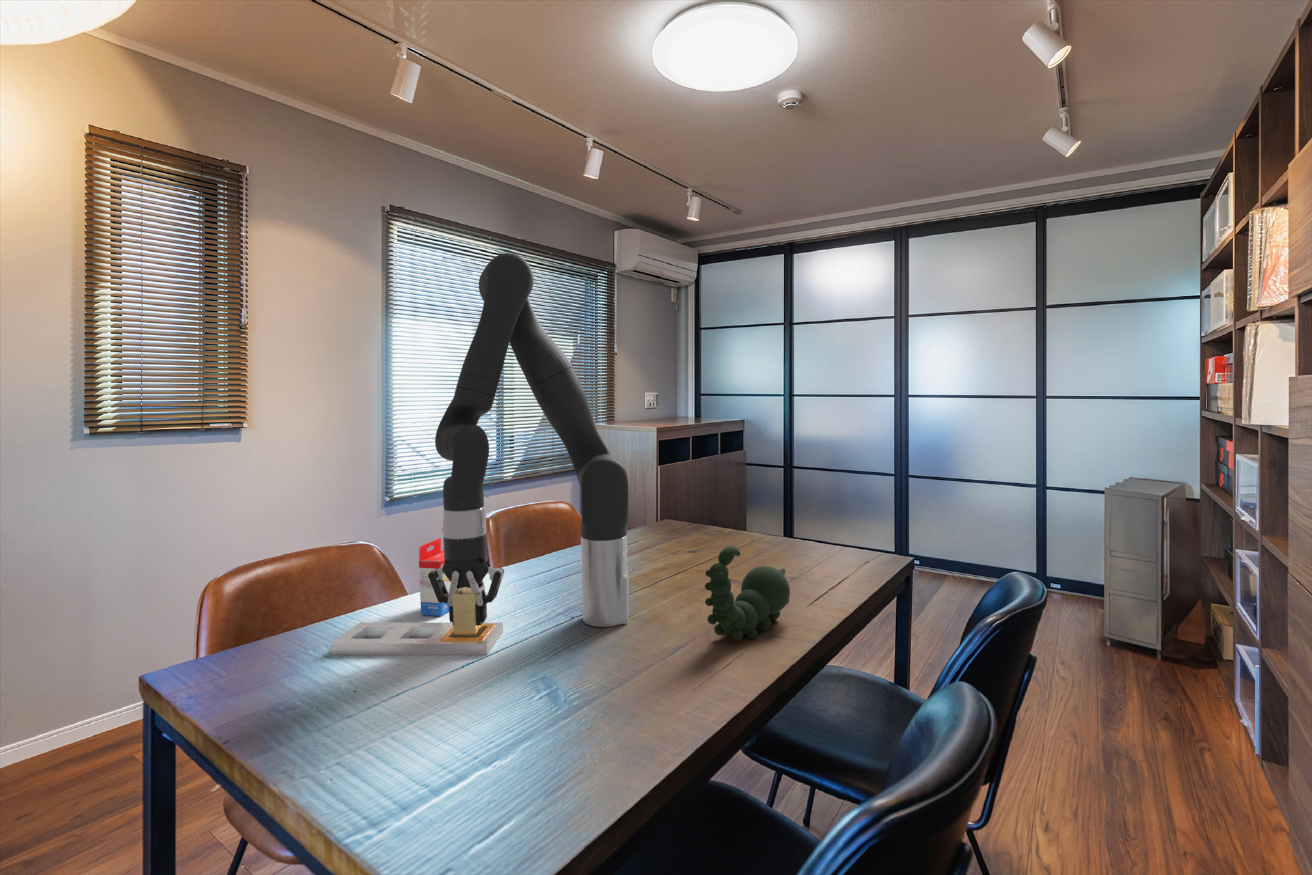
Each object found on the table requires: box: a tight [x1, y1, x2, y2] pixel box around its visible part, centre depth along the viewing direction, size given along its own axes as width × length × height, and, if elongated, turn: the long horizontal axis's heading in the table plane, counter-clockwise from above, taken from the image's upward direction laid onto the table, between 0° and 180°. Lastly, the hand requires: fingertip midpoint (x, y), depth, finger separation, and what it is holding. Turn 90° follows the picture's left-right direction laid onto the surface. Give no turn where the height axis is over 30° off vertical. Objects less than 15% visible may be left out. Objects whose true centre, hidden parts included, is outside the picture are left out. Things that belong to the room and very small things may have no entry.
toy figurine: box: [704, 545, 791, 641], centre depth 118 cm, size 9×19×25 cm
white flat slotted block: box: [330, 622, 504, 656], centre depth 114 cm, size 28×10×2 cm, turn 88°
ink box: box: [418, 537, 451, 617], centre depth 131 cm, size 8×5×15 cm, turn 168°
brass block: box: [453, 587, 483, 638], centre depth 113 cm, size 4×4×9 cm
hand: (468, 623), depth 113 cm, fingers closed on brass block, 4 cm apart
